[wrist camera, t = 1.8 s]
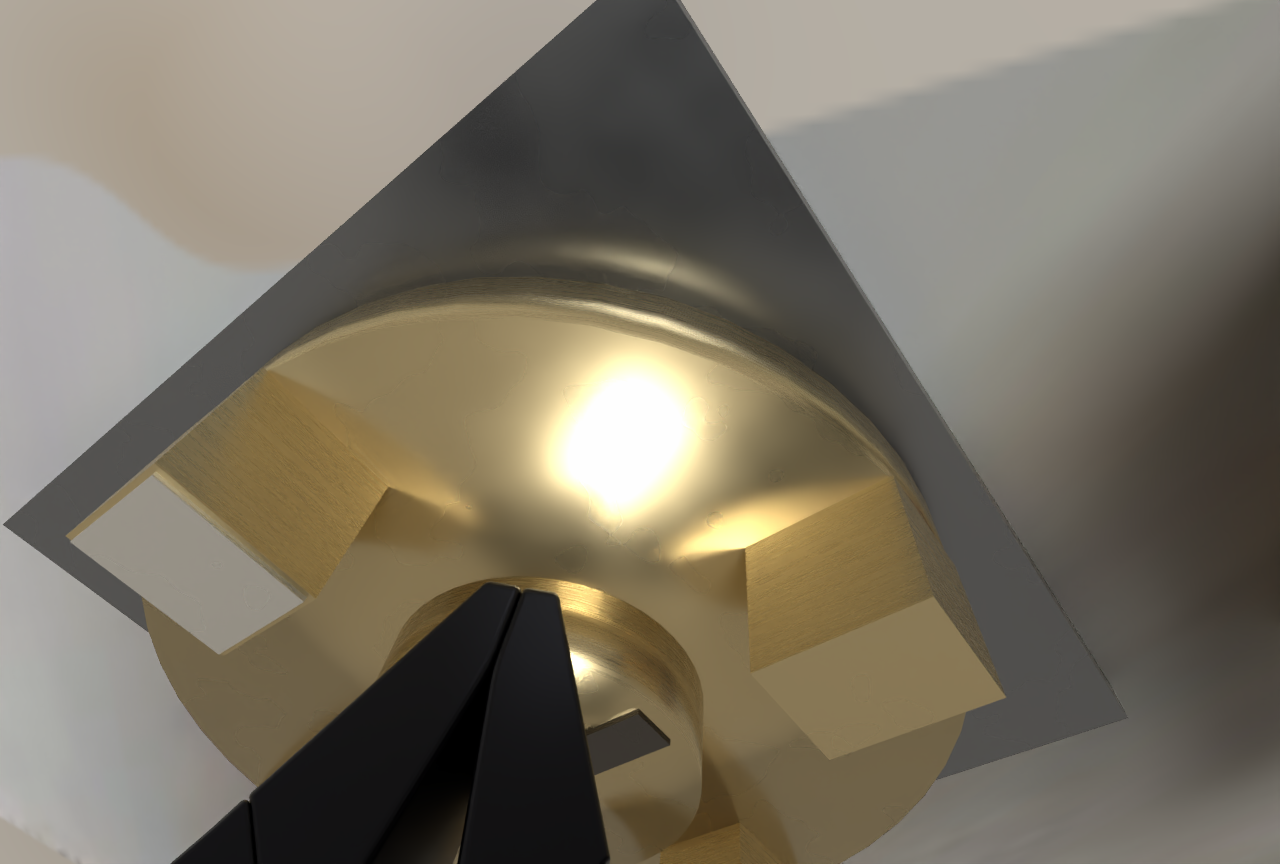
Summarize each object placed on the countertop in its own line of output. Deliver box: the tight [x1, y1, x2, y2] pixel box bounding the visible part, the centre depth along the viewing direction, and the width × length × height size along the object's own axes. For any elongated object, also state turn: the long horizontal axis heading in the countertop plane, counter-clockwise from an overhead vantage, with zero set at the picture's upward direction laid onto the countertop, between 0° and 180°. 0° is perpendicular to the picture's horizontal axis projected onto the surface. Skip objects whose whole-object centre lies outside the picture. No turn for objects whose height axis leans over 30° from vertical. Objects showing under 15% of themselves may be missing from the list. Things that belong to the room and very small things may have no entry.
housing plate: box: [3, 0, 1128, 780], centre depth 19 cm, size 20×20×1 cm
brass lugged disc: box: [66, 276, 1006, 864], centre depth 17 cm, size 18×18×5 cm
